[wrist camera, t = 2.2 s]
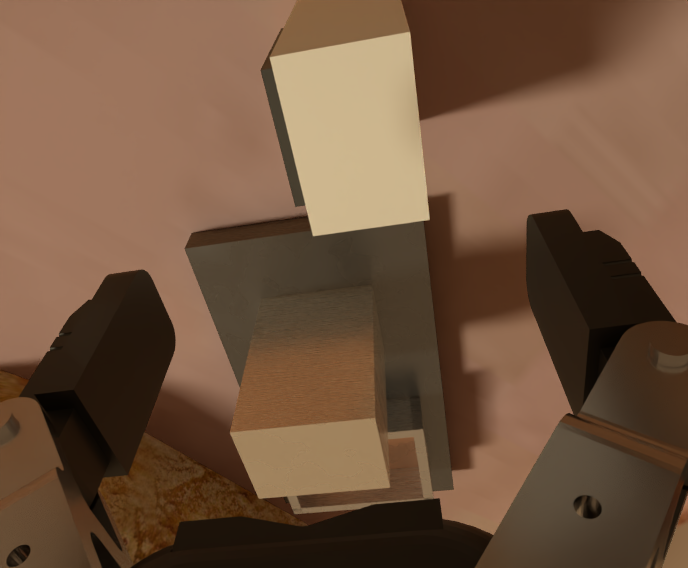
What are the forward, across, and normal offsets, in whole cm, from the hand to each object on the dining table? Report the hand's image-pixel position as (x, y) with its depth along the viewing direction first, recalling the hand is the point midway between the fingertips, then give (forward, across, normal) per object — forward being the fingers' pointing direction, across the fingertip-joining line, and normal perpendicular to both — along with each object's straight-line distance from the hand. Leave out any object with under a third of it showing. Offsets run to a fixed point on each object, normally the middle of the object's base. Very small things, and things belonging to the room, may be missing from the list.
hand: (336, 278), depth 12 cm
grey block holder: (+16, +4, +18) cm, 24 cm away
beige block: (+16, 0, 0) cm, 16 cm away
